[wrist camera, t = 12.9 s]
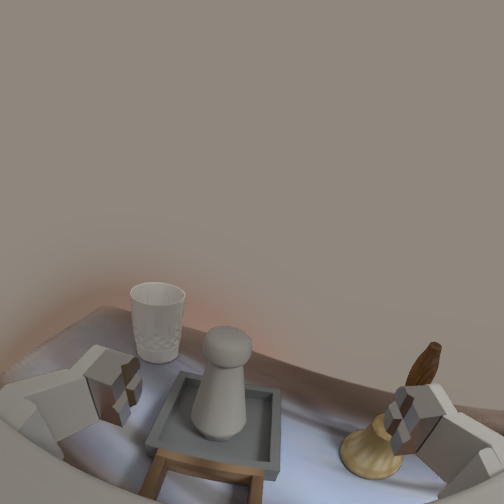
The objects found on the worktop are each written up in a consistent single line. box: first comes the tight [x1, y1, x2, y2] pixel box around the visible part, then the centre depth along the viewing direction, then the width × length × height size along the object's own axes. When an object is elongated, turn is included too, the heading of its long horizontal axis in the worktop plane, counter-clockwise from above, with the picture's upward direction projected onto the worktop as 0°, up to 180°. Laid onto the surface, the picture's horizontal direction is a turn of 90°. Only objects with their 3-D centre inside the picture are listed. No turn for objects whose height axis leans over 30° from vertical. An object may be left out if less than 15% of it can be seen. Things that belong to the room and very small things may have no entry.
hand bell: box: [340, 342, 442, 480], centre depth 22 cm, size 8×8×16 cm
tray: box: [145, 371, 281, 481], centre depth 27 cm, size 13×13×2 cm
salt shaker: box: [191, 326, 252, 442], centre depth 25 cm, size 6×6×13 cm
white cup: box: [130, 282, 185, 364], centre depth 39 cm, size 8×8×10 cm
